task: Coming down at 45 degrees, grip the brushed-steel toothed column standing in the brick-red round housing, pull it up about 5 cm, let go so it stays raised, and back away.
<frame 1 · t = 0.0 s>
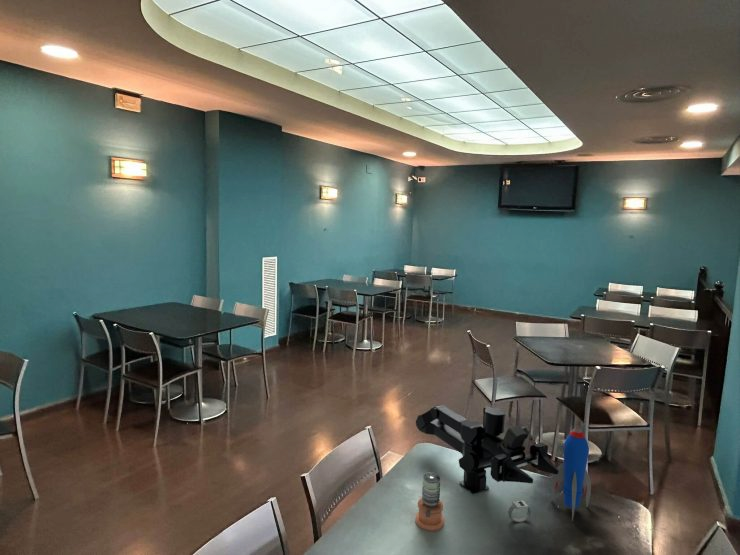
hand: (545, 476, 114), 17 cm above the table, tool horizontal, fingers open, 9 cm apart
housing: (429, 521, 121), on the table
column: (431, 490, 120), point 9 cm above the table, slide at 0.0 cm
wristwatch: (519, 521, 123), on the table
toy rocket: (571, 513, 127), on the table
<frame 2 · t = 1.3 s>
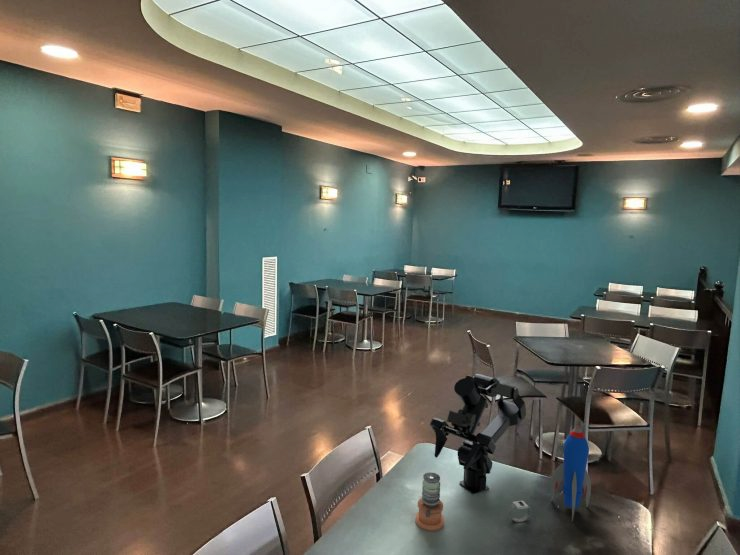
hand: (449, 462, 125), 14 cm above the table, tool tilted 45°, fingers open, 9 cm apart
nothing on the table moved.
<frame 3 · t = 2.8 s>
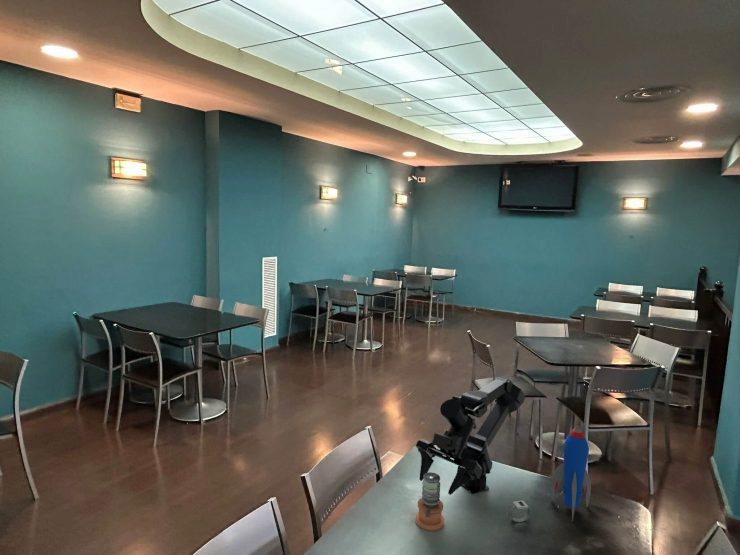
hand: (434, 487, 121), 9 cm above the table, tool tilted 45°, fingers open, 9 cm apart
nothing on the table moved.
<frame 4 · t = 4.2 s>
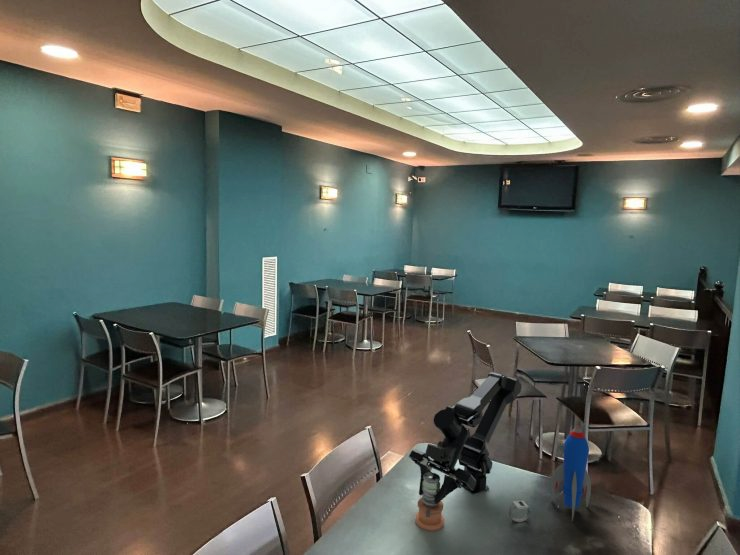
hand: (427, 499, 119), 7 cm above the table, tool tilted 45°, fingers closed on column, 5 cm apart
column: (431, 490, 120), point 9 cm above the table, slide at 0.0 cm, touching gripper
everything else where it was.
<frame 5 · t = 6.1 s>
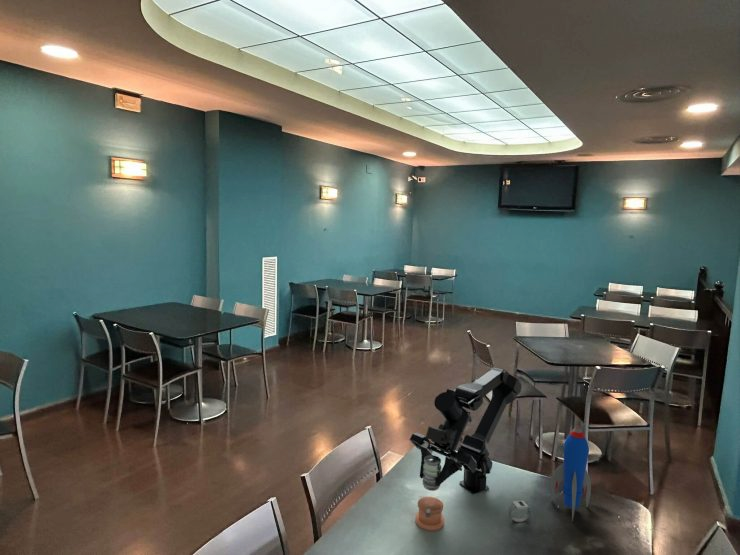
hand: (428, 481, 119), 12 cm above the table, tool tilted 45°, fingers closed on column, 5 cm apart
column: (431, 472, 120), point 14 cm above the table, slide at 4.9 cm, touching gripper
everything else where it was.
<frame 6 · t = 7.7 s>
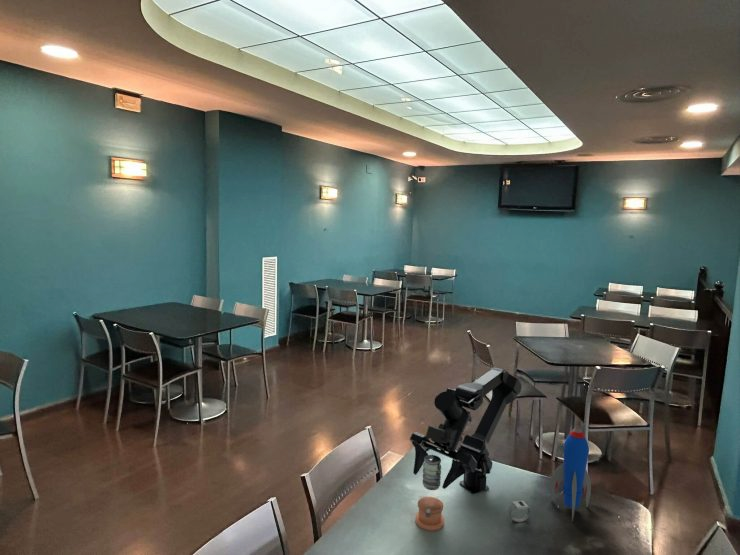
hand: (428, 481, 119), 12 cm above the table, tool tilted 45°, fingers open, 9 cm apart
column: (431, 472, 120), point 14 cm above the table, slide at 5.0 cm
everything else where it was.
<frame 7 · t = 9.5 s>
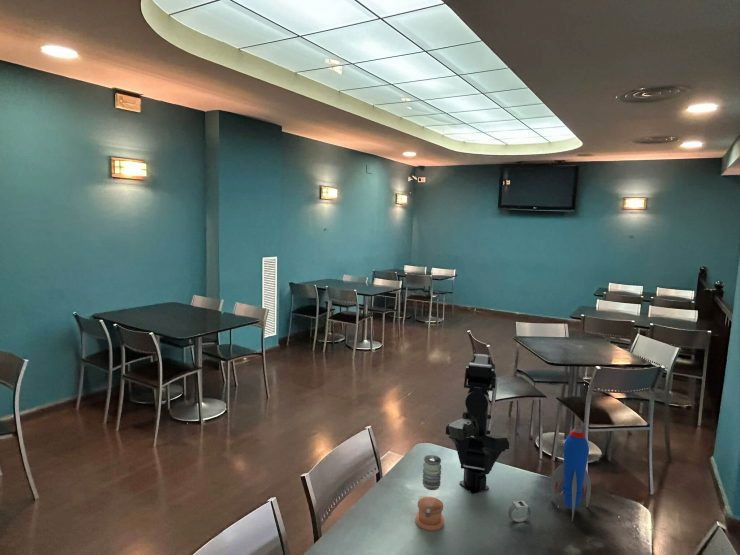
hand: (474, 469, 123), 14 cm above the table, tool pointing down, fingers open, 9 cm apart
nothing on the table moved.
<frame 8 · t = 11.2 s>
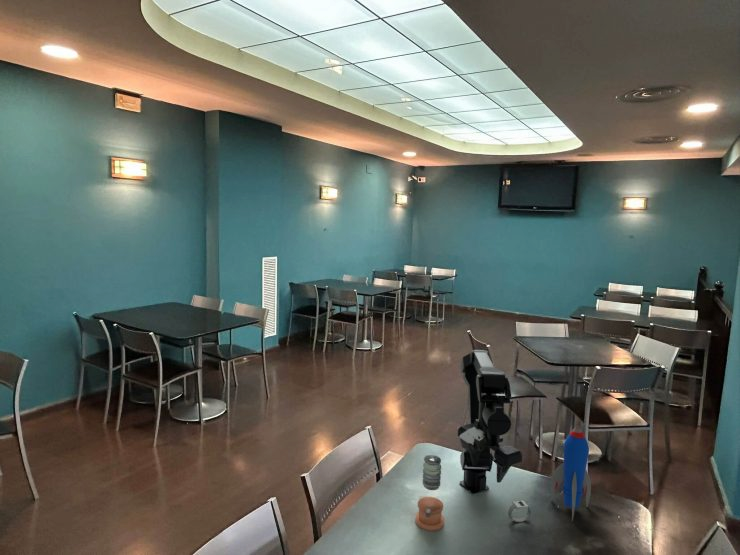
hand: (486, 473, 121), 13 cm above the table, tool pointing down, fingers open, 9 cm apart
nothing on the table moved.
at the end: column slide at 5.0 cm; the gripper is holding nothing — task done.
